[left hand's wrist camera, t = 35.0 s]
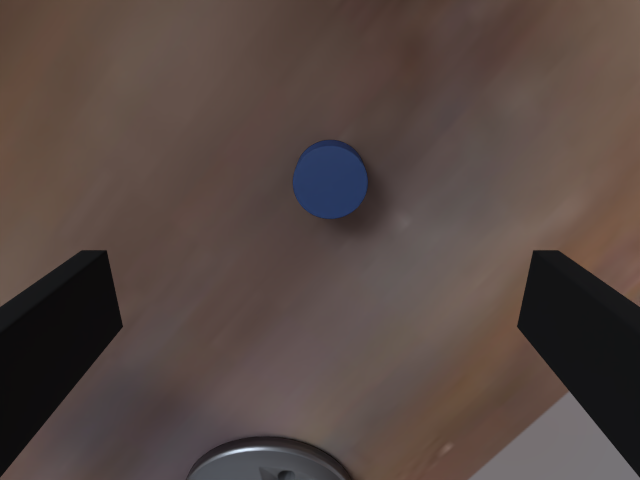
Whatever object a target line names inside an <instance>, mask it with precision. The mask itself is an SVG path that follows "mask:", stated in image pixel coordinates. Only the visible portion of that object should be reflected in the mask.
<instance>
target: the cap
mask: <svg viewBox="0 0 640 480" xmlns="http://www.w3.org/2000/svg"><path fill="white" fill-rule="evenodd" d="M367 186H368V178H367V173H366V170H365V167H364V164H363V162H362V160H361V157H360V156H359V154H358V153H357V152H356V151H355V150H354V149H353V148H352V147H351V146H349V145H348V144H346V143H344V142H341V141H336V140H324V141H320V142H317V143H315V144H313V145H311V146H310V147H309V148H307V149H306V150H305V151H304V153H303V154H302V155H301V157H300V158H299V161H298V163H297V166H296V169H295V172H294V176H293V189H294V193H295V196H296V198H297V200H298V202H299V203H300V204H301V206H302V207H303V208H304V209H305V210H306V211H308V212H309V213H311V214H312V215H315V216H317V217H320V218H325V219H336V218H340V217H343V216H346V215H348V214H350V213H351V212H353V211H354V210H355V209H356V208H357V207H358V206H359V205H360V204H361V202H362V201H363V199H364V197H365V195H366V192H367Z"/></svg>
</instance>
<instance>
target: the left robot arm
mask: <svg viewBox="0 0 640 480" xmlns="http://www.w3.org/2000/svg"><path fill="white" fill-rule="evenodd" d="M122 327H123V325H122V320H121V315H120V311H119V306H118V301H117V297H116V292H115V287H114V283H113V278H112V273H111V269H110V264H109V259H108V255H107V250H82V251H80V252H79V253H77V254H76V255H74V256H73V257H72V258H70V259H69V260H67V261H66V262H64V263H63V264H62V265H60V266H59V267H57V268H56V269H54V270H53V271H51V272H50V273H49V274H47V275H46V276H44V277H43V278H41V279H40V280H39V281H37V282H36V283H34V284H33V285H31V286H30V287H28V288H27V289H26V290H24V291H23V292H21V293H20V294H18V295H17V296H16V297H14V298H13V299H11V300H10V301H8V302H7V303H5V304H4V305H3V306H1V307H0V477H1V476H2V475H3V473H4V472H5V471H6V470H7V469H8V467H9V466H10V465H11V464H12V462H13V461H14V460H15V459H16V457H17V456H18V455H19V454H20V453H21V451H22V450H23V449H24V448H25V446H26V445H27V444H28V443H29V441H30V440H31V439H32V438H33V437H34V435H35V434H36V433H37V432H38V430H39V429H40V428H41V427H42V426H43V424H44V423H45V422H46V421H47V419H48V418H49V417H50V416H51V414H52V413H53V412H54V411H55V410H56V408H57V407H58V406H59V405H60V403H61V402H62V401H63V400H64V398H65V397H66V396H67V395H68V394H69V392H70V391H71V390H72V389H73V387H74V386H75V385H76V384H77V383H78V381H79V380H80V379H81V378H82V376H83V375H84V374H85V373H86V371H87V370H88V369H89V368H90V367H91V365H92V364H93V363H94V362H95V360H96V359H97V358H98V357H99V355H100V354H101V353H102V352H103V351H104V349H105V348H106V347H107V346H108V344H109V343H110V342H111V341H112V340H113V338H114V337H115V336H116V335H117V333H118V332H119V331H120V330H121V328H122ZM517 327H518V328H519V330H520V331H521V332H522V333H523V335H524V336H525V337H526V338H527V340H528V341H529V342H530V343H531V344H532V346H533V347H534V348H535V349H536V351H537V352H538V353H539V354H540V355H541V357H542V358H543V359H544V360H545V362H546V363H547V364H548V365H549V367H550V368H551V369H552V370H553V371H554V373H555V374H556V375H557V376H558V378H559V379H560V380H561V381H562V383H563V384H564V385H565V386H566V387H567V389H568V390H569V391H570V392H571V394H572V395H573V396H574V397H575V398H576V400H577V401H578V402H579V403H580V405H581V406H582V407H583V408H584V410H585V411H586V412H587V413H588V414H589V416H590V417H591V418H592V419H593V421H594V422H595V423H596V424H597V425H598V427H599V428H600V429H601V430H602V432H603V433H604V434H605V435H606V437H607V438H608V439H609V440H610V441H611V443H612V444H613V445H614V446H615V448H616V449H617V450H618V451H619V453H620V454H621V455H622V456H623V457H624V459H625V460H626V461H627V462H628V464H629V465H630V466H631V467H632V468H633V470H634V471H635V472H636V473H637V475H638V476H639V477H640V307H639V306H637V305H636V304H635V303H633V302H632V301H630V300H629V299H627V298H626V297H624V296H623V295H622V294H620V293H619V292H617V291H616V290H614V289H613V288H612V287H610V286H609V285H607V284H606V283H604V282H603V281H601V280H600V279H599V278H597V277H596V276H594V275H593V274H591V273H590V272H589V271H587V270H586V269H584V268H583V267H581V266H580V265H578V264H577V263H576V262H574V261H573V260H571V259H570V258H568V257H567V256H566V255H564V254H563V253H561V252H560V251H558V250H533V255H532V259H531V264H530V269H529V273H528V278H527V283H526V287H525V292H524V297H523V301H522V306H521V311H520V315H519V320H518V325H517ZM186 480H351V478H350V476H349V475H348V473H347V472H346V471H345V469H344V468H343V467H342V466H341V465H340V464H339V463H338V462H337V461H336V460H334V459H333V458H332V457H330V456H329V455H327V454H326V453H324V452H322V451H321V450H319V449H317V448H315V447H312V446H310V445H307V444H304V443H302V442H298V441H294V440H290V439H284V438H277V437H252V438H244V439H239V440H235V441H231V442H228V443H225V444H222V445H220V446H218V447H216V448H214V449H212V450H210V451H209V452H207V453H206V454H205V455H203V456H202V457H201V458H200V459H199V460H198V461H197V462H196V463H195V464H194V466H193V467H192V468H191V470H190V472H189V474H188V476H187V479H186Z"/></svg>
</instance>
